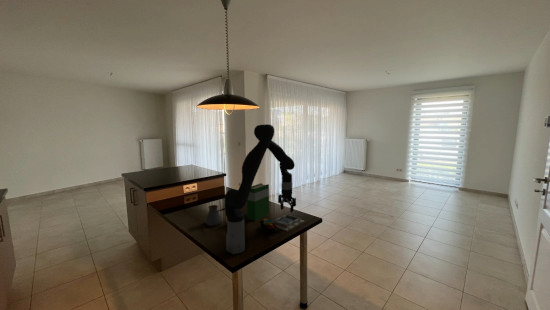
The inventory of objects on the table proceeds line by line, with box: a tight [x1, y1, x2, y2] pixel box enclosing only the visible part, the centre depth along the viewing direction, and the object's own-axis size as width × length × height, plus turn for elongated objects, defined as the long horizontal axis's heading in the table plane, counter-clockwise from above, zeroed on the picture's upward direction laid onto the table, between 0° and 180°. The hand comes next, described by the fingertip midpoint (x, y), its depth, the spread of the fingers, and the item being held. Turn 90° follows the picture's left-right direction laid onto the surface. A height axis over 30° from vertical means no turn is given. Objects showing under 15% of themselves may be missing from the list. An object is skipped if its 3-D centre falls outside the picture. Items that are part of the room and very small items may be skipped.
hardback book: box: [246, 183, 270, 222], centre depth 164 cm, size 18×7×24 cm, turn 147°
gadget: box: [259, 218, 277, 233], centre depth 142 cm, size 6×13×6 cm, turn 32°
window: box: [272, 214, 305, 232], centre depth 153 cm, size 20×16×3 cm
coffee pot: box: [204, 204, 225, 227], centre depth 148 cm, size 21×12×15 cm, turn 56°
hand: (286, 210), depth 152 cm, fingers open, 8 cm apart
